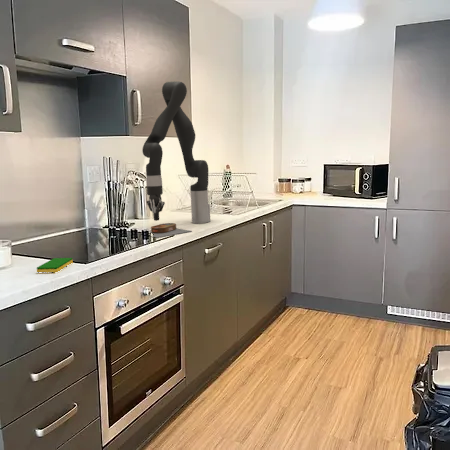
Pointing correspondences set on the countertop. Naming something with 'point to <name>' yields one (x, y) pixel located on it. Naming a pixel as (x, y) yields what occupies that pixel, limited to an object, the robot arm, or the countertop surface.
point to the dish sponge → (54, 265)
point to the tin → (163, 228)
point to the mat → (170, 233)
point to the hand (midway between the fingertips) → (156, 220)
